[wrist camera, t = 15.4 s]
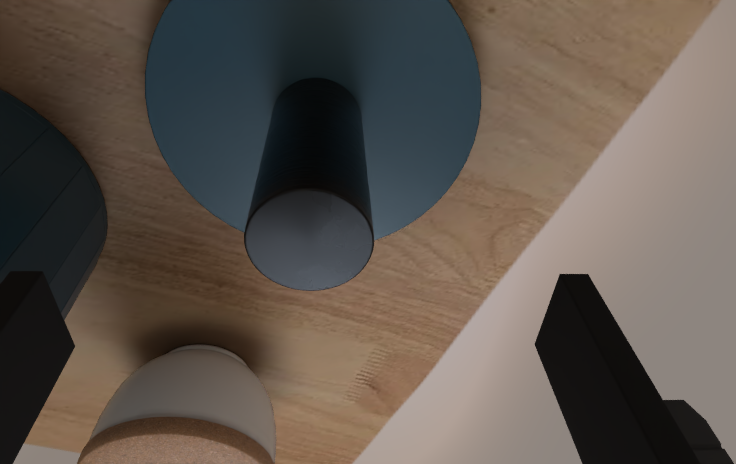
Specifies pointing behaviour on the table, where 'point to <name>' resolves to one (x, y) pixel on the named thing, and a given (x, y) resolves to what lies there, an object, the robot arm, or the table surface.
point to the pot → (47, 204)
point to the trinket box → (186, 413)
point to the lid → (313, 121)
